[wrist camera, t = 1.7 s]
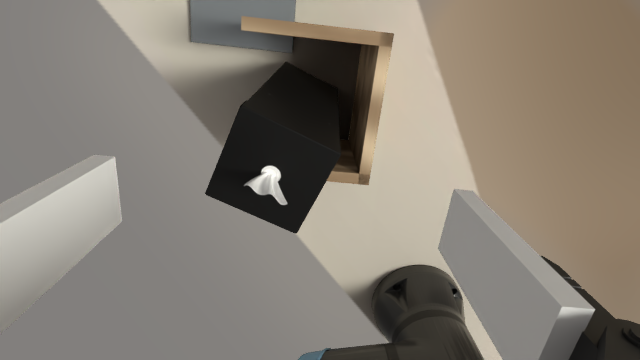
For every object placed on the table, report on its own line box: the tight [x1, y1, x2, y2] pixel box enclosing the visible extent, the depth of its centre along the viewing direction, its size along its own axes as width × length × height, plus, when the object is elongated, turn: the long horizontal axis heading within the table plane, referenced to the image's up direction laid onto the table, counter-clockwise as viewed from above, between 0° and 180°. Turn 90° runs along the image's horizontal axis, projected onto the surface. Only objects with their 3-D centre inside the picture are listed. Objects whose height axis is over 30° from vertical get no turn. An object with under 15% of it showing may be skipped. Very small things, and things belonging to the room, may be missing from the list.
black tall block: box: [205, 62, 341, 233], centre depth 36 cm, size 8×8×28 cm
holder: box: [241, 16, 394, 185], centre depth 42 cm, size 15×14×14 cm
